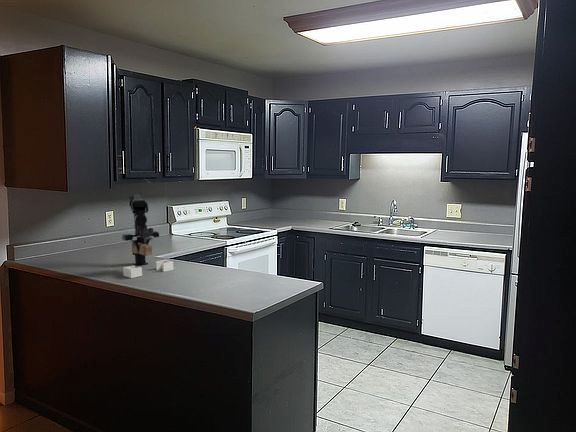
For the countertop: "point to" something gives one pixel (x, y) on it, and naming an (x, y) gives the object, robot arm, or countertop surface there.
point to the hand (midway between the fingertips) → (141, 251)
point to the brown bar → (142, 249)
